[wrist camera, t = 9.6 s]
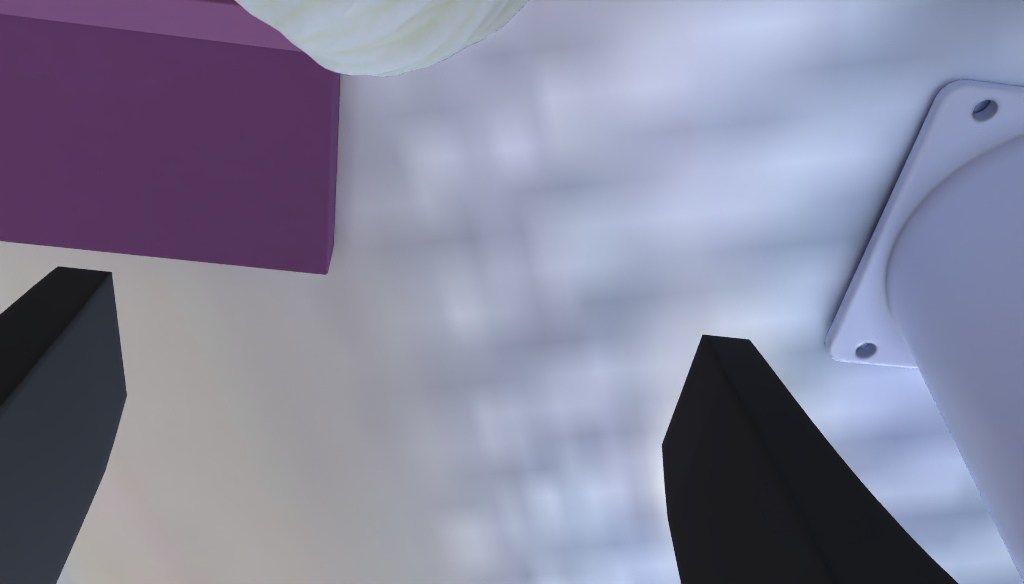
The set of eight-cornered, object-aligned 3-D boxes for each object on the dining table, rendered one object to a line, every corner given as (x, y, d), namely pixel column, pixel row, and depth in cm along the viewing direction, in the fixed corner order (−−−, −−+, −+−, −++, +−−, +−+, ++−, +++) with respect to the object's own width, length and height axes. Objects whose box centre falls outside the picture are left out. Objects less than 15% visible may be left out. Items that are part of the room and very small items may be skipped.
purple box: (344, -37, 20) (335, -8, 18) (333, 245, 24) (325, 283, 23) (-133, -102, 19) (-174, -76, 17) (-55, 203, 23) (-84, 241, 22)
